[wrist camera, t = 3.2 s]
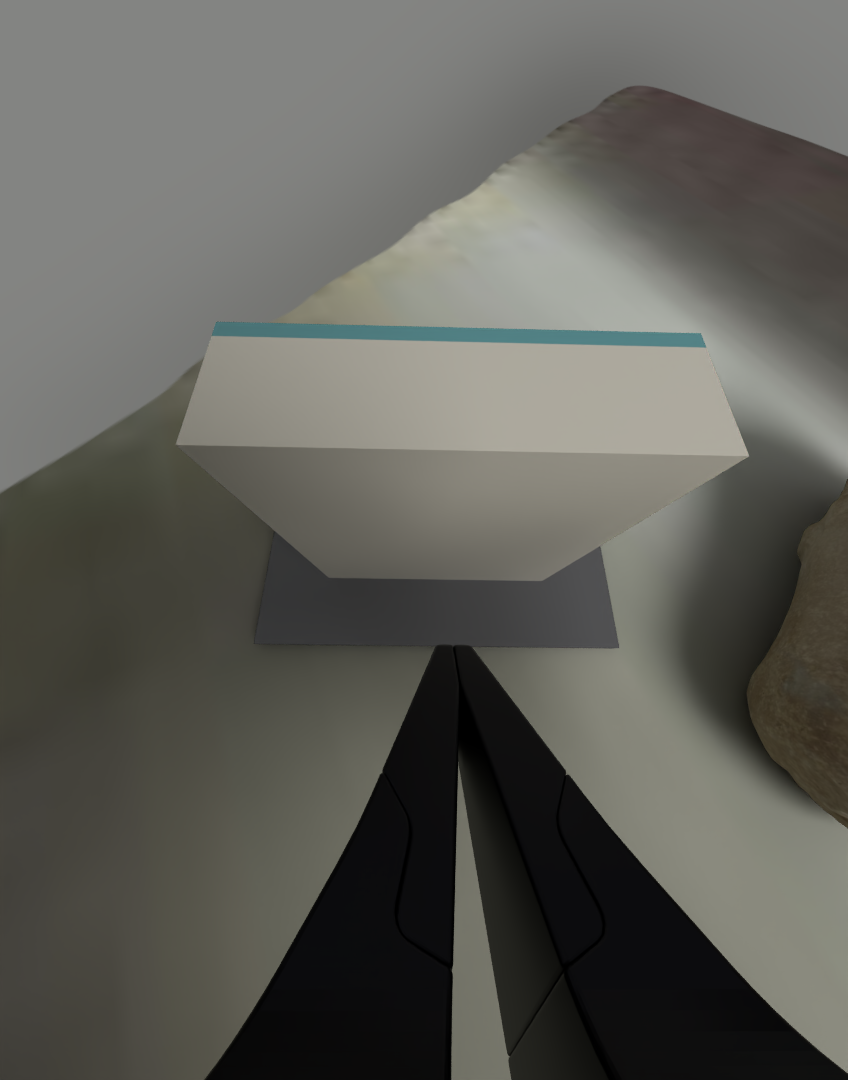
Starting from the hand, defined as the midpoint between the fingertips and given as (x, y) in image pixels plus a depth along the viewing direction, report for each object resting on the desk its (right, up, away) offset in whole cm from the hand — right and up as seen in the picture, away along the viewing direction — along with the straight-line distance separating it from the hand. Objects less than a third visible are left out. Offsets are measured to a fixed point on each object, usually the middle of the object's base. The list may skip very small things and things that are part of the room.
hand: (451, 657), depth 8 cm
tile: (0, +2, +7) cm, 8 cm away
